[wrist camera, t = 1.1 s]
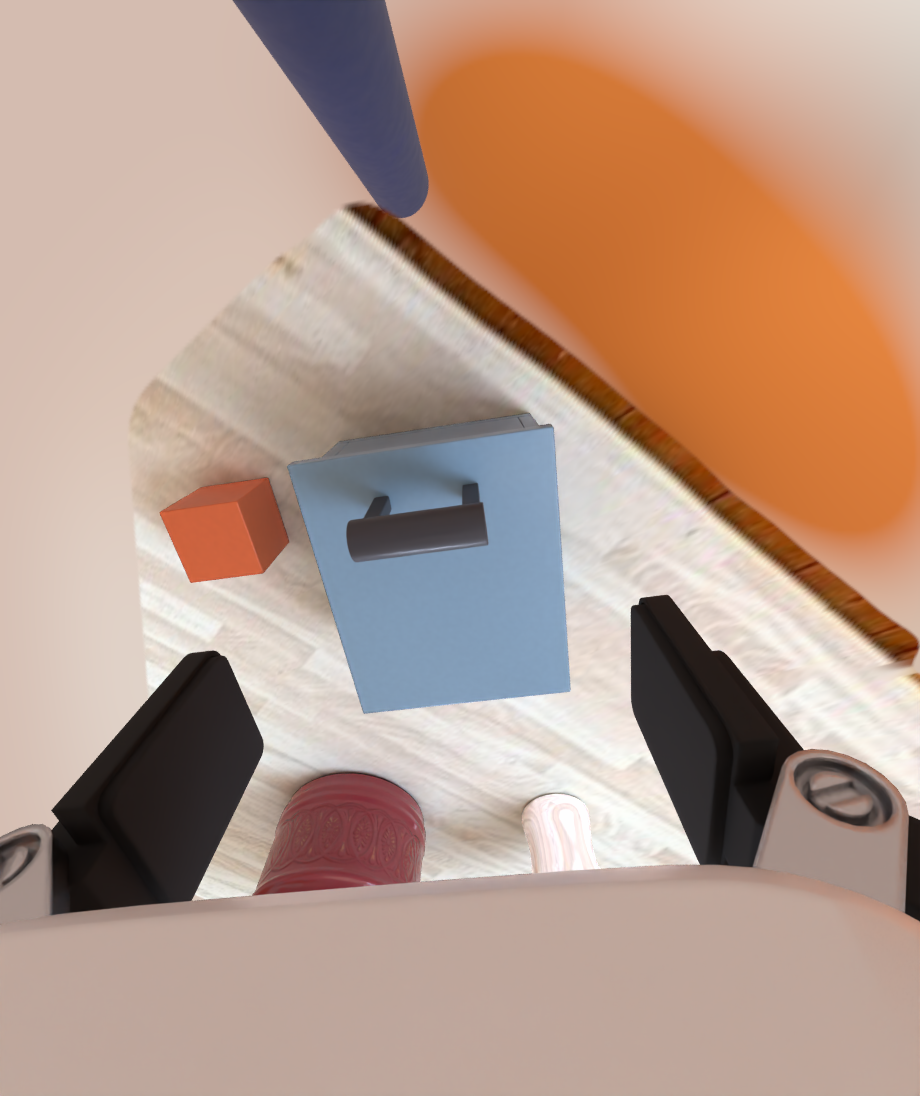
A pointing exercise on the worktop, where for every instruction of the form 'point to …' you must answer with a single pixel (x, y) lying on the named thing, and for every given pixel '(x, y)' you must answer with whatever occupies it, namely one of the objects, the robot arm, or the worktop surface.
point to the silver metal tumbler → (558, 834)
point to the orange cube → (226, 530)
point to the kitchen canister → (345, 837)
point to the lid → (443, 567)
